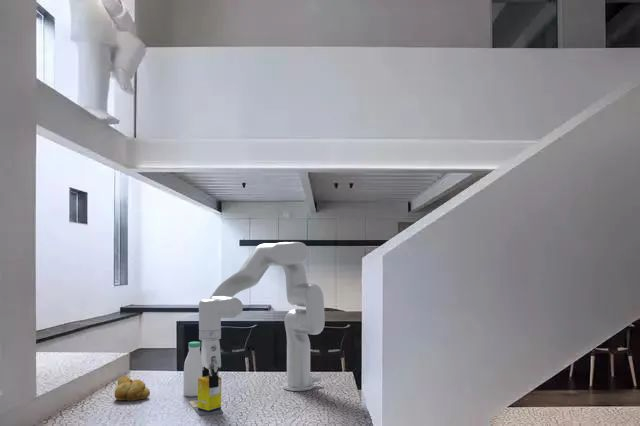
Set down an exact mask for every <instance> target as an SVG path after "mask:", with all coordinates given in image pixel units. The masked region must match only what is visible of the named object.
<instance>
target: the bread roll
mask: <svg viewBox="0 0 640 426" xmlns="http://www.w3.org/2000/svg"><path fill="white" fill-rule="evenodd" d="M150 394H151V391H150V389H149V388H148V387H146V383H145V382H144V381H142V380H140V379H134V380H133V379H131V378H130V377H129V376H127V375H122V376H120V377H119V378H118V380H117V386H116V388H115V390H114V398H115V399H116V400H117V401H130V402H131V401H136V400H144V399H147V398H148V397H149V396H150Z"/></svg>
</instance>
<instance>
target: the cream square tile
mask: <svg viewBox="0 0 640 426" xmlns="http://www.w3.org/2000/svg"><path fill="white" fill-rule="evenodd" d="M188 403H189V405H190V406H191V407H192V408H193V409H195V408H197V407H198V399H196V400H189V401H188Z"/></svg>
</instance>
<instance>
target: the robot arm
mask: <svg viewBox="0 0 640 426" xmlns="http://www.w3.org/2000/svg"><path fill="white" fill-rule="evenodd" d="M309 251H310V250H309V248H308V246H307V245H306V244H305V243H304V242H300V241H290V242H289V241H283V242H276V243H261V244H259V245H257V246H256V247H255V248H254V249H253V250H252V252H251V253H250V255H249V257H248V258H247V259H246V260H245V262H243V265H242V266H241V267H240V269H239V270H238V271H237V272H235V273H233V274H232V275H231V276H229V277H228V278H227V279H225V280H224V281H222V282H221V283H220V285H219V286H217V288H216V289H215V291H214V292H212V294H211V296H210V298H205V299H201V300H200V301H199V303H198V339H199V341H201V342H200V344H201V345H200V349H201V350H200V353H201V360H202V365H203V367H202V368H203V370H202V377H205V376H209V375H210V376H209V388H215V387H218V386H219V377H220V376H219V369H220V368H221V367H222V359H221V356H222V355H221V345H220V339H222V324H221V322H222V319H235V318H237V317H239V316H240V315H241V314H242V312H243V310H244V305H243V303H242V301H241V300H240V299H239V298H237V297H235V296H236V295H237V294H238V293H240V292H242V291H245V290H247V289H250V288H253V287H254V286H255V287H256V285H257V284H259V282H260V281H261V279H262V277H264V275H265V273H266V272H267V271H268V269H269V268H270V267H272V266H277V267H280V266H281V268H282V269H283V271H284V274H285V276H284V277H285V285H286V286H285V287H286V288H285V289H286V291H285V292H286V299H287V302H288V304H290V305H291V306H295V307H303V308H304V309H303V308H294V309H290V310H289V311H288V312H287V313H285V316H284V328H285V332H286V334H285V335H286V382H284V383H283V384H282V388H283V389H284V390H286V391H292V392H306V391H310V390H312V389H314V388H315V385H314V383H315V382H317V383H318V382H322V377H321V376H316V375H314V376H313V375H311V342H310V337H309V335H313V336H315V335H320V334H321V332H323V330H324V328H325V321H326V320H325V319H326V318H325V317H326V316H325V300H324V292H323V291H322V290H323V289H322V288H321V287H320V286H319V285H318V284H316V283H313V282H311V283H310V282H308V281H307V280H308V279H307V270H306V267H305V264H304V263H305V262H306V261H307V259H308V257H309V253H310V252H309Z"/></svg>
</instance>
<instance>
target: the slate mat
mask: <svg viewBox="0 0 640 426" xmlns="http://www.w3.org/2000/svg"><path fill="white" fill-rule="evenodd" d="M194 411H195V412H196V413H197V414H198V415H199V417H202V416H208V415H217V414H223V413H224V410H223V409H222V408H221V409H218V410H215V411H212V412H209V413H208V412H204V411H200V410H198V407H197V408H194Z"/></svg>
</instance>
